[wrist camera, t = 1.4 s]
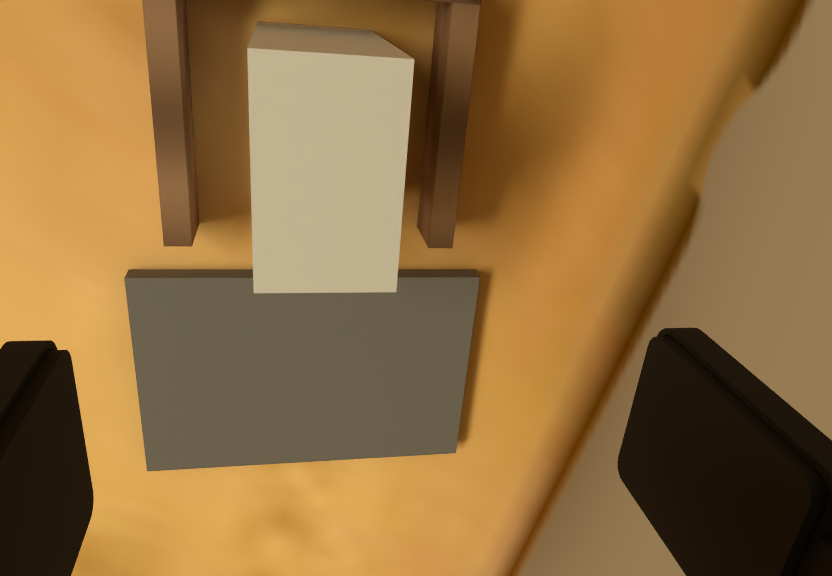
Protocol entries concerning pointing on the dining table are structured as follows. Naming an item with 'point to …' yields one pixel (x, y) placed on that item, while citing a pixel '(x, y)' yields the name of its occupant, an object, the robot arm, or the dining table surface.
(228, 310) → the mat
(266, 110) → the blank block
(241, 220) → the dining table surface
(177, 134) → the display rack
